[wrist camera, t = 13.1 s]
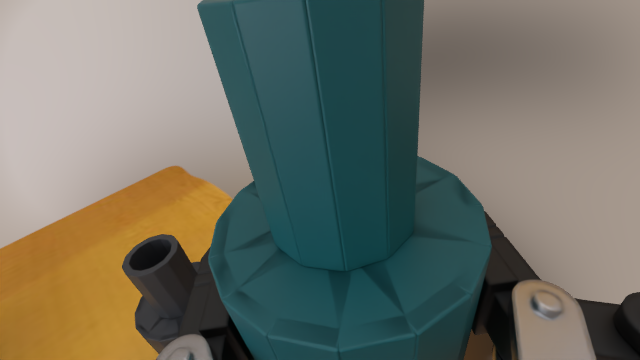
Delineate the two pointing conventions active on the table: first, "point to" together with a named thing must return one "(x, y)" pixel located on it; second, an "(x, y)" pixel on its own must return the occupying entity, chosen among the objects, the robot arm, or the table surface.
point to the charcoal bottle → (160, 287)
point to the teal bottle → (339, 188)
